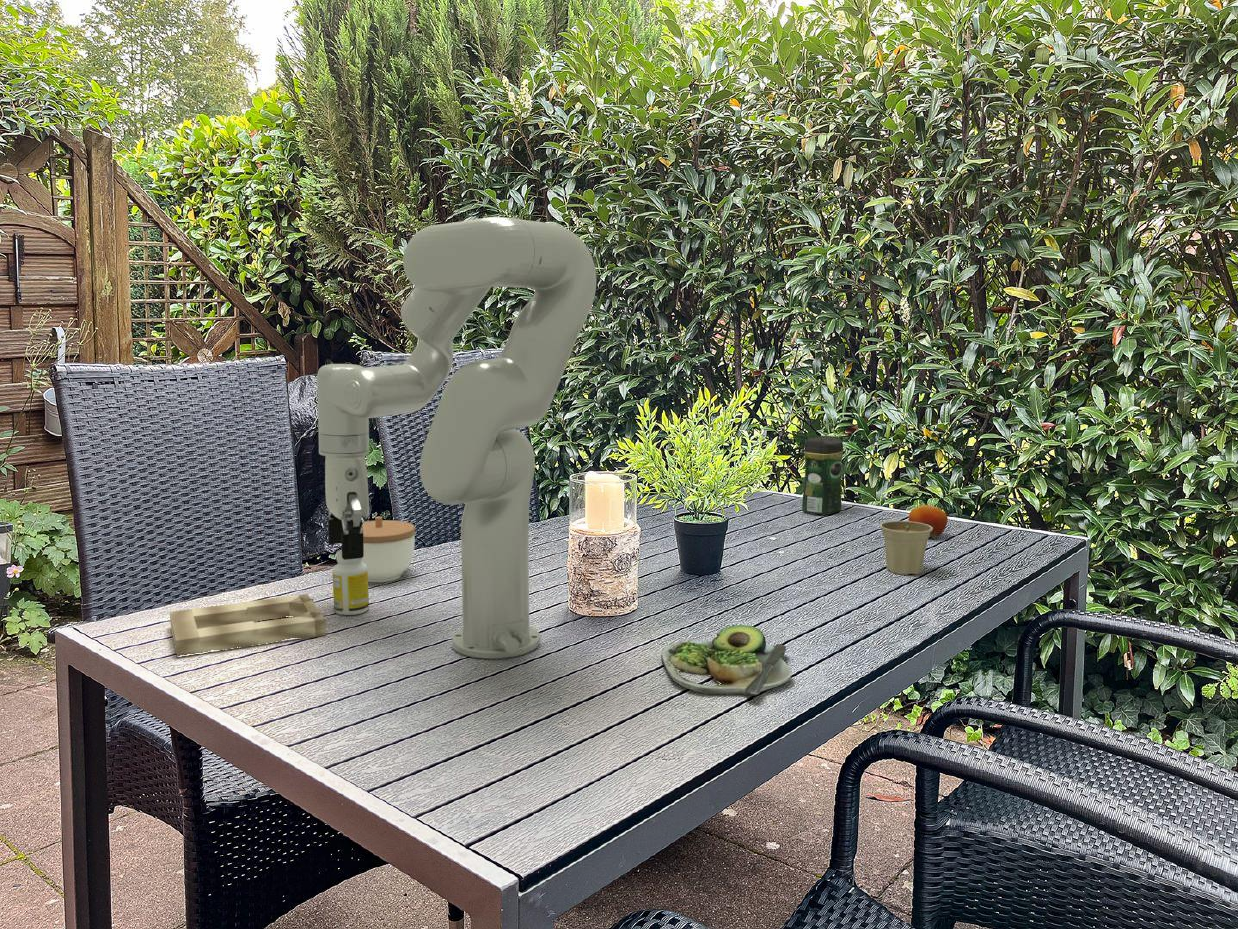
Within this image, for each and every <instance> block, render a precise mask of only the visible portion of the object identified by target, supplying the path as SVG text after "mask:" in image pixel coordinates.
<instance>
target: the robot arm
mask: <svg viewBox="0 0 1238 929" xmlns="http://www.w3.org/2000/svg"><path fill="white" fill-rule="evenodd" d="M405 246H406V247H405V250H404V252H403V257H402V262H403V263H402V265H403V266H402V267H403V269H404V270H403V271H404V273H405V276H406V277H407V280H408V281H409V282H410V283H411V284H412V285H413V286H414V288H413V289H412V290H411V292H410V293H409V294H408V296H407V298H406V299H405V301H404V302H403V304H402V306H401V307H400V316H401V317H400V318H401V320H402V321H403V324H404V326H405V327H406V328H407V329H408V331H409V332H410V333H411V334H412V335H413V336H415V337H416V338H417V339H418V340H419V341H418V342H417V345H416V346H415V349H414V350H413V351H412V352H411V353H410V355H409V356H408V358H407V359H406V361H404V363H403V364H398V365H397V364H396V365H381V366H380V365H379V366H370V367H369V366H368V367H366V366H365V367H364V366H362V365H360V364H355V363H354V364H352V363H331V364H330V363H329V364H325V365H322V366H321V367H320V368H318V371H317V376H316V377H317V378H316V379H317V380H316V381H317V419H318V420H317V422H318V423H317V426H318V454H319V455H320V456H323V457H325V462H324V465H325V466H324V468H325V469H324V470H325V471H324V474H325V476H324V478H325V480H324V484H325V485H324V486H325V491H324V492H325V504H326V508H327V510H328V513H327V514H328V520H327V522H328V523H327V525H328V526H327V527H328V528H327V530H328V532H327V534H328V543H329V544H331V545H336V544H341V550H342V558H343V559H344V560H347V559H357V558H363V556H364V542H363V522H364V521H363V520H362V518H364V519H367V518H368V517H369V515H370V504H369V503H370V502H369V485H368V472H367V471H368V470H367V462H366V455H369V454H370V428H369V427H370V425H369V424H370V420H369V419H375V418H383V417H387V416H395V415H403V414H405V415H406V414H411V413H415V412H417V411H419V410H421V409H422V408H424V407H426V405H428V403H430V402H431V400H432V399H433V398H434V396H435V395H436V394H437V393H438V391H439V390H440V389H441V387H442V386H443V384H444V383H445V382H446V380H447V379H448V376H450V372H451V370H452V366H453V362H454V361H453V360H454V353H455V352H454V348H455V347H454V343H453V341H454V338H455V337H456V336H457V334H458V333H459V332H460V331H461V329H462V328H463V326H464V325H465V324H466V322H467V321H468V319H469V318H470V317H471V316H472V314H473V312H474V311H475V310H476V309H477V308H478V306H479V304H480V303H481V302H482V300H483V299H484V298H485V297H486V295H487V293H488V292H489V291H490V290H491V288H521V289H534V294H533V295H532V297H531V299H530V300H529V301H528V302H527V303H526V305H525V306H523V308H522V309H521V310H520V312H519V313H518V315H517V316H516V318H515V320H514V322H513V323H512V324H513V325H512V327H511V329H510V332H509V335H508V338H507V340H506V342H505V345H504V346H503V349H502V351H501V353H500V354H499V356H497V357H495V358H489V359H479V360H474V361H470V362H468V363H466V364H464V365H463V366H461V367H460V368H458V369H457V370H456V371H455V373H454V374H453V375H452V376H451V377H450V378H449V380H448V382H447V383H446V384H445V387H444V390H443V392H442V395H441V398H440V400H439V403H438V406H437V408H436V411H435V414H434V416H433V419H432V422H431V424H430V427H429V430H428V432H427V433H428V434H427V436H426V438H425V442H424V445H423V447H422V450H421V451H422V452H421V453H420V454H421V455H420V461H419V476H420V481H421V484H422V486H423V488H424V491H425V492H426V493H427V494H428V496H429V497H431V498H432V500H434V501H436V502H438V503H440V504H443V505H450V506H452V505H453V506H455V505H463V504H465V505H464V508H463V513H462V517H461V525H460V546H461V547H460V549H461V550H460V551H461V552H460V553H461V556H460V557H461V558H460V559H461V593H462V594H461V596H462V597H461V598H462V599H461V601H462V602H461V603H462V607H461V608H462V629H460V630H458V631H456V632H455V633H454V634H453V635H452V637H451V638H452V639H451V645H452V648H453V650H455V651H456V652H458V653H459V654H460V655H461V654H462V655H464V656H467V657H472V658H477V659H488V660H489V659H506V658H507V659H508V658H513V657H518V656H521V655H526V654H528V653H530V652H532V651H533V650H535V649H536V648H538V647H539V645H540V643H541V635H540V632H539V631H538V630H537V629H535V628H534V627H531V626H530V567H529V566H530V558H529V556H530V552H529V548H530V547H529V544H530V543H529V539H530V538H529V537H530V535H529V534H530V530H529V528H530V522H529V521H530V517H529V516H530V502H531V494H532V488H533V483H534V478H535V477H534V475H535V471H536V470H535V468H536V461H535V460H536V459H535V458H536V457H535V453H534V449H533V446H532V444H531V442H530V440H529V439H528V438H527V436H526V435H525V434H524V433H522V432H521V431H520V430H518V429H523V428H527V427H530V426H533V425H536V424H537V423H539V422H541V420H542V419H544V417H545V416H546V415H547V413H548V410H549V408H550V406H551V404H552V402H553V399H554V396H555V394H556V392H557V389H558V387H559V385H560V382H561V379H562V377H563V374H564V373H565V370H566V367H567V365H568V362H569V360H570V357H571V354H572V352H573V349H574V346H575V344H576V341H577V340H578V337H579V335H580V333H581V331H582V329H583V328H584V327H583V326H584V325H585V322H586V321H587V317H588V316H589V314H590V311H591V309H592V307H593V306H592V305H593V303H594V301H595V300H594V299H595V296H596V290H597V271H596V265H595V263H594V259H593V256H592V254H591V252H590V250H589V248H588V246H587V245H586V244H585V242H584V241H583V240H582V238H580V237H579V236H578V235H577V234H575V232H573V231H571V230H570V229H568V228H566V227H563V226H561V225H557V224H555V223H554V224H553V223H550V222H549V223H548V222H545V221H544V222H542V221H535V220H525V219H520V218H519V219H518V218H512V217H504V216H493V217H491V216H490V217H483V218H482V217H481V218H475V219H468V220H463V221H456V222H455V221H454V222H449V223H448V222H447V223H442V224H433V225H428V226H426V227H424V228H421V229H420V230H419V231H417V232H416V233H415V234H413V235H412V237H411V239H409V241H408V243H407V244H406V245H405Z"/></svg>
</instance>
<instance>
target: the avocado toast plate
mask: <svg viewBox="0 0 1238 929" xmlns="http://www.w3.org/2000/svg"><path fill="white" fill-rule="evenodd" d="M786 651H787V646H786V645H784V644H782V643H777V644H776V645H770V644H768V643H767V640H766V637H765V635H764V633H763V632H762V631H761V630H760V628H757V627H756V626H752V625H747V624H745V625H744V624H738V625H730V626H727V627H725V628H722V629H721V630H720V631H718V632H716V637H714V638H712V640H684V641H683V640H682V641H681V640H680V641H677V642H676V641H675V642H673V643H671V644H668V645H666V646H664V647H663V649H662V651H661V654H660V655H661V660H660V661H661V663H662V665H663V666H664V667H665V669H666V672H667V674H668V675H669V676H670V678H671V679H672V680H673V681H674V682H675V683H676V684H678V685H680V686H681V687H683V688H685V689H687V690H689V689H690V691H692V690H693V692H696V693H699V694H700V693H701V694H705V693H707V695H713V694H714V695H715V694H731V695H750V696H757V695H760V693H762V692H764V691H768V690H770V689H774V688H777V687H779V686H781V685H783V684H785V683H787V682H788V681H790V680H791V678H792V671H791V669H790V667H789V666H788V664H787V662H785V660H784V659H783V656H784V655H785V653H786ZM678 670H683V671H682V672H685V671H687V672H686V673H690V672H692V673H691V674H696V673H700V674H699V675H703V674H705V676H708V675H711V676H712V677H713V678H712V677H711V678H712V679H714V678H715V679H716V680H715V679H714V682H715V681H718V682H720V683H721V684H720V685H718V684H715V685H709V684H704V683H697V682H696V681H695V682H694V681H693V680H689V679H687V678H686V677H684V676H683V675H682V676H683V677H684V678H683V677H682V676H681V674H682V673H681V672H680V673H681V674H680V673H679V671H678ZM685 678H686V679H685ZM718 682H717V683H718ZM715 696H716V695H715Z"/></svg>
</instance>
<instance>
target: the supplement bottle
mask: <svg viewBox="0 0 1238 929" xmlns="http://www.w3.org/2000/svg"><path fill="white" fill-rule="evenodd" d="M361 560H362V558H357V559H347V560H344V559H343V558H342V549H339V550H337V551H336V562H337V564H335V565H334V566H333V567H332V572H331V573H332V590H333V591H332V592H333V593H332V596H333V611H334V612H335V613H336V614H338V615H340V616H354V615H360V614H363V613H365V612H367V611H368V610H369V608H370V598H369V582H368V570H367V566H366V565H365V564H364V563H362V562H361Z"/></svg>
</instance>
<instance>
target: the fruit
mask: <svg viewBox="0 0 1238 929" xmlns="http://www.w3.org/2000/svg"><path fill="white" fill-rule="evenodd" d="M908 521H912V522H919V523H923V524H927V525H930V526H931V527H933V530H932V531H931V532H930V537H929V538H933V539H934V540H935V541H937V539H936V538H938V537H940V536H941V535H942V533H944V531H945V530H946V528H947V525H948V521H949V518H948V515H947V513H946V512H945V511H944V510H942V509H941V508H939V507H937V506H934V505H928V504H923V505H920V506H918V507H915V508H912V509H911V510H910V512H909V513H908Z"/></svg>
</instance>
